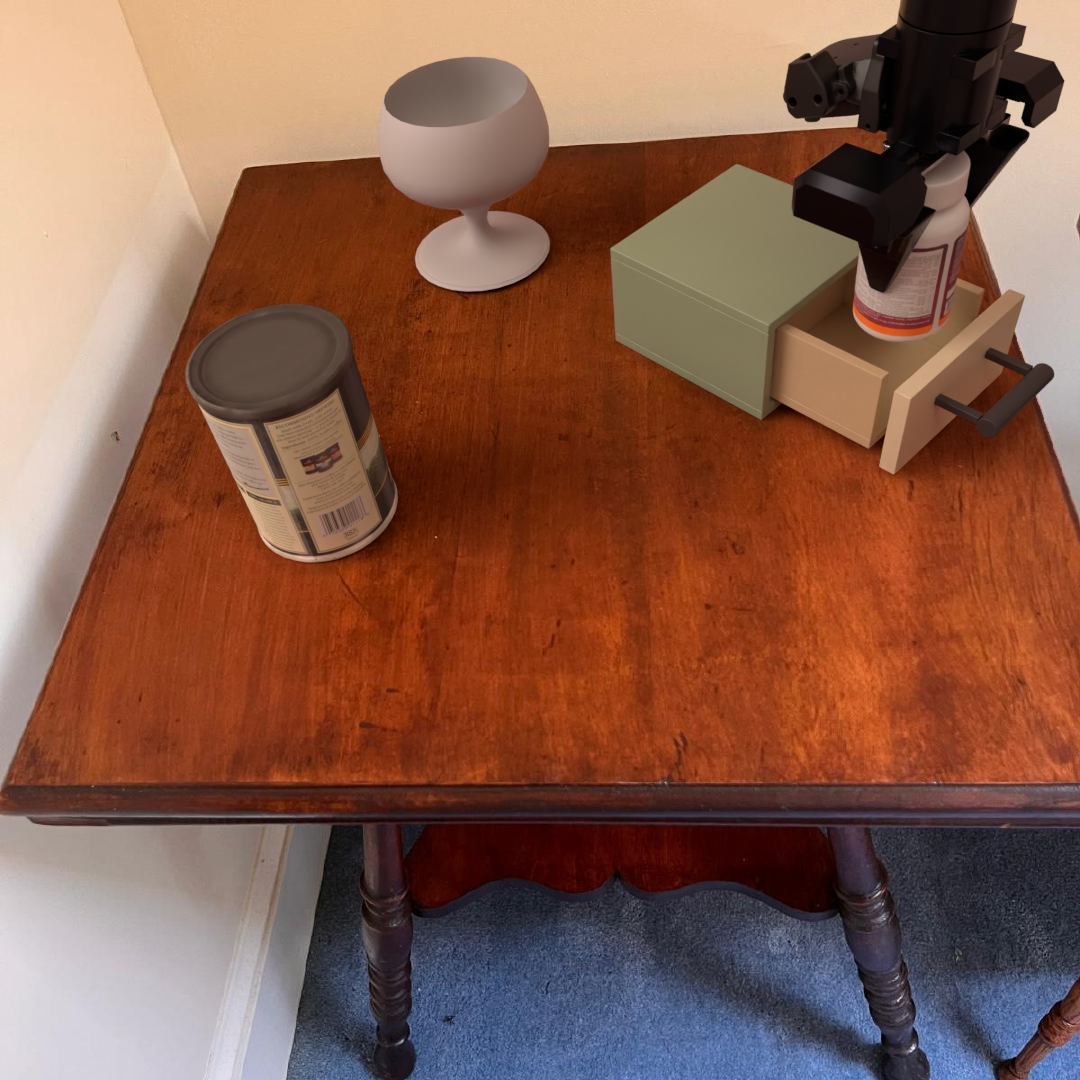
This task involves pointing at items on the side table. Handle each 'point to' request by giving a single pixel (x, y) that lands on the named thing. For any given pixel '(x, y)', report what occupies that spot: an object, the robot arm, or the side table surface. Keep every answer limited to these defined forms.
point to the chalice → (468, 166)
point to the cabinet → (723, 283)
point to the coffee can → (296, 429)
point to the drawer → (900, 371)
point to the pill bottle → (922, 265)
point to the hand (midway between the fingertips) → (907, 265)
